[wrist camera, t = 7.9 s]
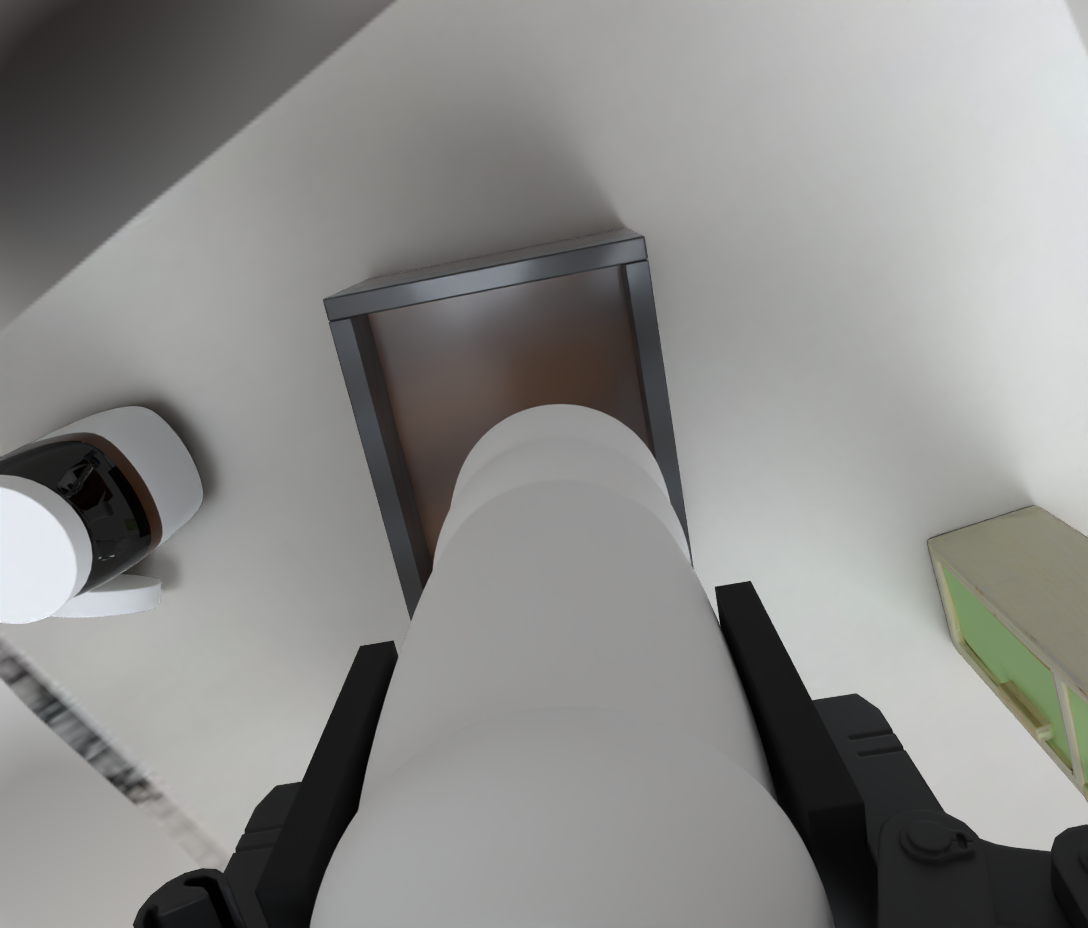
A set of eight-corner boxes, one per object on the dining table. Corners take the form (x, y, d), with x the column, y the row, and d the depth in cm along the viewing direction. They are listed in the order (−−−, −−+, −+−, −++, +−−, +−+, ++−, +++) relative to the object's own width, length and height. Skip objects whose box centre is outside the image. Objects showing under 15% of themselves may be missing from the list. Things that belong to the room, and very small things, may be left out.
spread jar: (170, 378, 45) (45, 438, 34) (268, 549, 48) (183, 655, 37) (-9, 457, 46) (-184, 538, 35) (98, 617, 50) (-32, 737, 39)
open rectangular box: (367, 278, 43) (321, 299, 35) (626, 227, 42) (644, 235, 34) (444, 577, 49) (420, 658, 40) (674, 538, 48) (700, 613, 39)
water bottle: (590, 624, 29) (759, 2536, 5) (419, 528, 28) (-336, 2410, 4) (704, 467, 27) (1771, 2372, 3) (525, 357, 26) (240, 2052, 2)
